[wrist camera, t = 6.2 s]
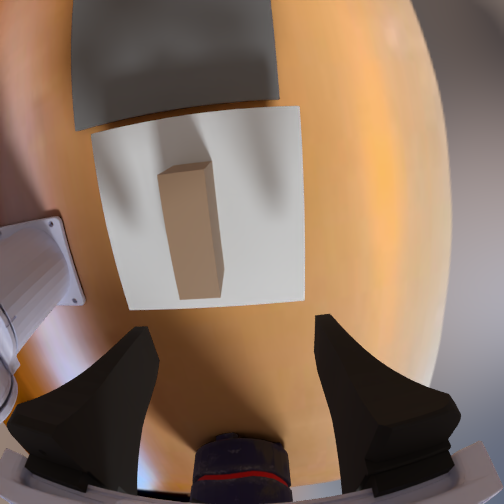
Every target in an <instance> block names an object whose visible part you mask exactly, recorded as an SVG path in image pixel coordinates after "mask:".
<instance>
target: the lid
mask: <svg viewBox="0 0 504 504" xmlns="http://www.w3.org/2000/svg"><path fill="white" fill-rule="evenodd" d="M91 138H92V146H93V154H94V161H95V167H96V173H97V179H98V185H99V191H100V196H101V201H102V206H103V211H104V216H105V221H106V225H107V230H108V234H109V238H110V242H111V246H112V250H113V254H114V258H115V262H116V266H117V269H118V273H119V277H120V280H121V283H122V287H123V290H124V294H125V297H126V300H127V303H128V306H129V310H158V309H185V308H207V307H225V306H241V305H255V304H269V303H281V302H293V301H304V300H305V223H304V184H303V159H302V138H301V121H300V106H279V107H259V108H245V109H233V110H223V111H213V112H205V113H197V114H190V115H183V116H176V117H170V118H164V119H158V120H153V121H147V122H142V123H137V124H132V125H128V126H123V127H119V128H114V129H110V130H106V131H102V132H98V133H94V134H91Z"/></svg>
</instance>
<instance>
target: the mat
mask: <svg viewBox="0 0 504 504" xmlns="http://www.w3.org/2000/svg"><path fill="white" fill-rule="evenodd" d="M71 75H72V96H73V110H74V121H75V131H80V130H84V129H87V128H91V127H95V126H99V125H103V124H107V123H111V122H115V121H119V120H123V119H128V118H133V117H137V116H142V115H147V114H153V113H158V112H164V111H170V110H176V109H182V108H189V107H196V106H204V105H213V104H222V103H232V102H244V101H259V100H279V99H280V98H279V85H278V73H277V61H276V50H275V39H274V29H273V19H272V10H271V1H270V0H74V1H73V13H72V33H71Z"/></svg>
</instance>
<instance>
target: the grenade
mask: <svg viewBox="0 0 504 504" xmlns="http://www.w3.org/2000/svg"><path fill="white" fill-rule="evenodd" d="M290 486H291V480H290V470H289V460H288V454H287V452H286V451H285V450H284V449H283V446H282V445H281V443H272V442H269V441H265V440H261V439H254V438H238V435H237V434H235V433H233V432H232V433H226V434H222V435H218V436H216V441H215V442H211V443H208V444H206V445H203V446H202V447H201V448H199V449H198V450H197V452H196V455H195V463H194V472H193V485H192V487H191V496H190V503H199V504H273V503H286V502H293V499H292V490H290V488H289V487H290Z"/></svg>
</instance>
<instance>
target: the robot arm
mask: <svg viewBox="0 0 504 504" xmlns="http://www.w3.org/2000/svg"><path fill="white" fill-rule="evenodd" d="M51 221H52V222H53V225H52V224H51ZM74 298H75V299H76V300H77V301H76V300H75V299H74ZM85 301H86V300H85V297H84V294H83V291H82V288H81V285H80V282H79V279H78V276H77V273H76V270H75V266H74V263H73V260H72V257H71V253H70V250H69V246H68V242H67V239H66V235H65V231H64V227H63V223H62V220H61V218H60V217H58V216H54V217H48V218H43V219H37V220H32V221H27V222H22V223H17V224H12V225H7V226H3V227H0V424H1V423H2V422H3V421H4V420H5V419H6V418H7V416H8V415H9V414H10V412H11V410H12V408H13V406H14V404H15V401H16V398H17V393H18V386H17V382H16V379H15V377H14V376H13V374H14V373H15V371H16V370H17V369H18V367H19V366H20V363H19V362H18V359H17V356H16V355H17V354H18V352H19V351H20V350H21V348H22V347H23V346H24V344H25V343H26V342H27V340H28V339H29V338H30V337H31V335H32V334H33V333H34V332H35V330H36V329H37V328H38V327H39V325H40V324H41V323H42V322H43V321H44V319H45V318H46V317H47V316H48V314H49V313H50V312H51V311H52V310H53V309H54V307H55V306H56V305H79V306H81V305H83V304H84V303H85ZM314 354H315V360H316V366H317V371H318V374H319V378H320V381H321V384H322V387H323V391H324V394H325V397H326V400H327V404H328V407H329V410H330V414H331V418H332V422H333V427H334V433H335V439H336V446H337V452H338V459H339V467H340V476H341V486H342V495H337V496H332V497H326V498H319V499H312V500H304V501H296V502H286V503H273V504H484V503H485V502H487V501H488V500H489V499H491V498H492V497H493V496H495V495H496V494H497V493H498V492H500V491H501V490H502V488H503V485H502V483H501V481H500V479H499V476H498V474H497V472H496V470H495V468H494V465H493V463H492V461H491V459H490V457H489V455H488V453H487V451H486V449H485V447H484V445H483V443H482V441H478V442H476V443H474V444H472V445H470V446H468V447H466V448H463V449H461V450H459V451H457V452H456V453H454V454H453V455H452V456H451V455H450V453H449V451H448V450H449V449H450V448H451V445H450V443H449V441H448V438H449V437H450V436H451V434H452V433H453V431H454V430H455V428H456V427H457V425H458V423H459V421H460V419H461V414H460V412H459V410H458V408H457V406H456V404H455V402H454V401H453V399H452V398H451V396H450V395H449V394H447V393H444V392H440V391H438V390H435V389H432V388H429V387H426V386H424V385H421V384H419V383H417V382H415V381H412V380H410V379H408V378H406V377H405V376H403V375H401V374H399V373H397V372H396V371H394V370H392V369H391V368H389V367H387V366H386V365H385V364H383V363H382V362H380V361H379V360H377V359H376V358H375V357H374V356H372V355H371V354H370V353H369V352H367V351H366V350H365V349H364V348H363V347H362V346H361V345H360V344H358V343H357V342H356V341H355V340H354V339H353V338H352V337H351V336H350V335H349V334H348V333H347V332H346V331H345V330H344V329H343V328H342V326H341V325H340V324H339V323H338V322H337V321H336V320H335V319H334V318H333V316H332V315H330V314H324V315H315V341H314ZM159 361H160V360H159V357H158V355H157V352H156V349H155V347H154V344H153V341H152V338H151V335H150V332H149V329H148V327H147V326H142V327H134V328H133V329H132V330H131V331H129V332H128V333H127V334H126V335H125V336H124V337H123V338H122V339H121V340H120V341H119V342H118V343H117V344H115V345H114V346H113V347H112V348H111V349H110V350H109V351H108V352H107V353H106V354H105V355H103V356H102V357H101V358H100V359H99V360H98V361H96V362H95V363H94V364H93V365H92V366H91V367H89V368H88V369H87V370H85V371H84V372H83V373H81V374H80V375H78V376H77V377H75V378H74V379H72V380H71V381H69V382H67V383H66V384H64V385H62V386H61V387H59V388H57V389H55V390H53V391H51V392H49V393H47V394H45V395H43V396H40V397H38V398H35V399H32V400H30V401H27V402H24V403H21V404H18V405H17V406H16V408H15V410H14V412H13V413H12V415H11V417H10V419H9V421H8V422H7V428H8V430H9V432H10V433H11V435H12V436H13V437H14V438H15V439H16V440H17V441H18V442H19V443H20V444H21V446H22V447H23V448H24V449H25V450H26V451H27V452H28V453H30V455H29V457H28V459H27V458H26V457H24V456H23V455H21V454H19V453H17V452H14V451H12V450H10V449H8V448H6V449H5V451H4V453H3V455H2V457H1V459H0V497H2V498H3V499H4V500H6V501H7V502H9V503H10V504H199V503H186V502H176V501H167V500H160V499H153V498H147V497H141V496H137V471H138V457H139V448H140V440H141V433H142V427H143V423H144V419H145V415H146V412H147V409H148V406H149V402H150V399H151V396H152V393H153V389H154V386H155V383H156V379H157V374H158V367H159Z"/></svg>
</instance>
